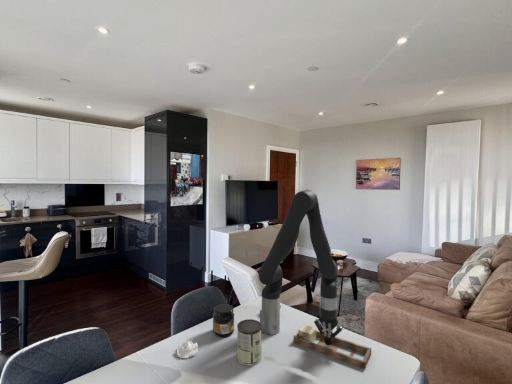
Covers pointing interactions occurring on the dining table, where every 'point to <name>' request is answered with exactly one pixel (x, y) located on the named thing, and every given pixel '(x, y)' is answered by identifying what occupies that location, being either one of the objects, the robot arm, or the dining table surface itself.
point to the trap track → (332, 349)
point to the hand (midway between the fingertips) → (328, 344)
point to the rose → (187, 349)
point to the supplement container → (223, 320)
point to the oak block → (307, 333)
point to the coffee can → (249, 342)
